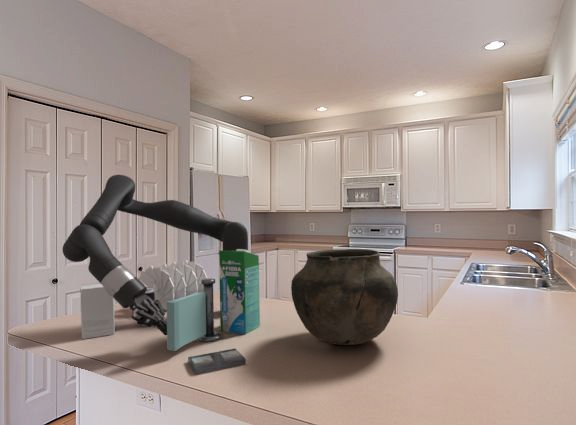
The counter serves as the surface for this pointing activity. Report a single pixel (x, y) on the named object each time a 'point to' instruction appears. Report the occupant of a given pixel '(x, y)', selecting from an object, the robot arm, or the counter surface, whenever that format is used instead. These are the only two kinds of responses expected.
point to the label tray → (216, 361)
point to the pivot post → (209, 312)
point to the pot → (344, 295)
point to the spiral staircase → (174, 280)
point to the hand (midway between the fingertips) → (169, 332)
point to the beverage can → (151, 294)
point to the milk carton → (239, 291)
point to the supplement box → (96, 311)
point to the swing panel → (185, 320)
